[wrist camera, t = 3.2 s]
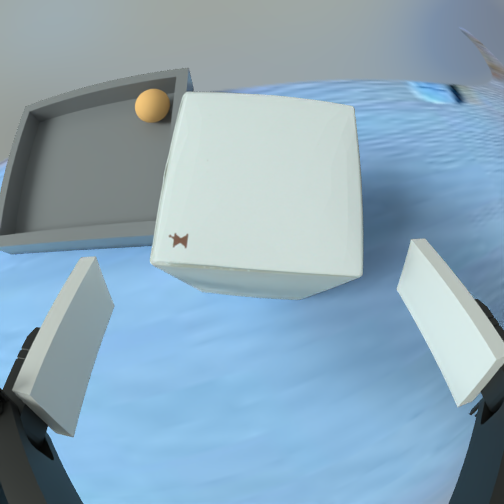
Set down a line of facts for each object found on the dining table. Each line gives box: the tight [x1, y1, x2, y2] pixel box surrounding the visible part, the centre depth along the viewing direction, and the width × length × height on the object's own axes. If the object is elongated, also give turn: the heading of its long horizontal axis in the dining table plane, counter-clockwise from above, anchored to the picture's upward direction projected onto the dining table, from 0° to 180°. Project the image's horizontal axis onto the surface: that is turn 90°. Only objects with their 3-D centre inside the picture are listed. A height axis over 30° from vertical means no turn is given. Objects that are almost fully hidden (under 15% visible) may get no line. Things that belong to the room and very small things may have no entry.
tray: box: [0, 68, 193, 254], centre depth 22 cm, size 18×15×3 cm
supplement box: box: [150, 92, 363, 300], centre depth 17 cm, size 7×7×13 cm
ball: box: [135, 89, 170, 123], centre depth 23 cm, size 3×3×3 cm
